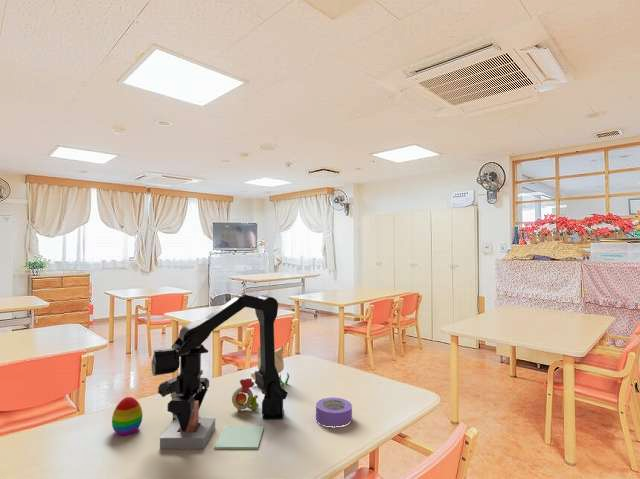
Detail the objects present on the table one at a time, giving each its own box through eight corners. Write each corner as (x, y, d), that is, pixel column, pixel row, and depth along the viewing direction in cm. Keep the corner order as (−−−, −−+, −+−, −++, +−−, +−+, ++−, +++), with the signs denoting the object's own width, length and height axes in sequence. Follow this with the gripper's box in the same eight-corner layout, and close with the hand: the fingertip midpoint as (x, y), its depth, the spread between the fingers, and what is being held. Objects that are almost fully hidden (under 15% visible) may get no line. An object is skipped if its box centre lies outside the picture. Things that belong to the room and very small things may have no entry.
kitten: (292, 380, 155) (292, 344, 155) (284, 389, 145) (285, 351, 145) (259, 377, 158) (259, 342, 158) (249, 385, 148) (250, 348, 149)
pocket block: (215, 427, 113) (215, 418, 113) (203, 449, 101) (203, 438, 101) (176, 427, 113) (176, 417, 113) (159, 448, 101) (159, 437, 101)
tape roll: (356, 416, 123) (356, 401, 123) (344, 431, 112) (344, 415, 112) (324, 409, 128) (324, 394, 128) (309, 423, 117) (309, 407, 117)
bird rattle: (241, 421, 122) (265, 405, 126) (228, 392, 121) (253, 377, 125) (236, 413, 128) (259, 398, 132) (224, 386, 126) (248, 372, 130)
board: (263, 428, 113) (263, 426, 113) (257, 449, 101) (257, 447, 101) (224, 427, 113) (224, 425, 113) (214, 449, 101) (214, 446, 101)
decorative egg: (113, 427, 113) (114, 394, 113) (142, 422, 116) (143, 390, 116) (109, 440, 105) (110, 404, 106) (141, 434, 109) (142, 400, 109)
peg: (198, 434, 109) (198, 400, 109) (193, 441, 105) (194, 406, 105) (184, 434, 109) (185, 400, 109) (179, 441, 105) (180, 406, 105)
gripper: (175, 359, 117) (174, 409, 116) (148, 380, 98) (147, 439, 98) (210, 359, 117) (209, 409, 117) (190, 380, 98) (189, 439, 98)
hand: (189, 423), depth 107 cm, fingers open, 9 cm apart
